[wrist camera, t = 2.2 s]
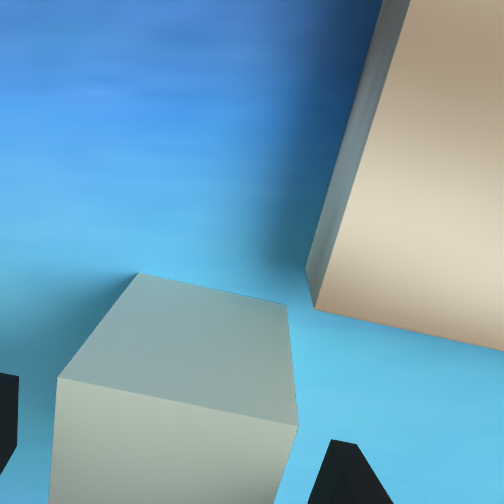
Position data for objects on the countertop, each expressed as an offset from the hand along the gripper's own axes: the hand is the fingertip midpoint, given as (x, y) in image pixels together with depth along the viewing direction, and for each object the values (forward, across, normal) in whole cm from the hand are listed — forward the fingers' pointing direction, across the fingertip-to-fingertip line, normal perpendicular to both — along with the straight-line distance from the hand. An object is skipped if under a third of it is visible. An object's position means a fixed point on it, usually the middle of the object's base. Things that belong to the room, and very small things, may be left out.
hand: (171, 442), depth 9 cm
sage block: (+4, 0, 0) cm, 4 cm away
